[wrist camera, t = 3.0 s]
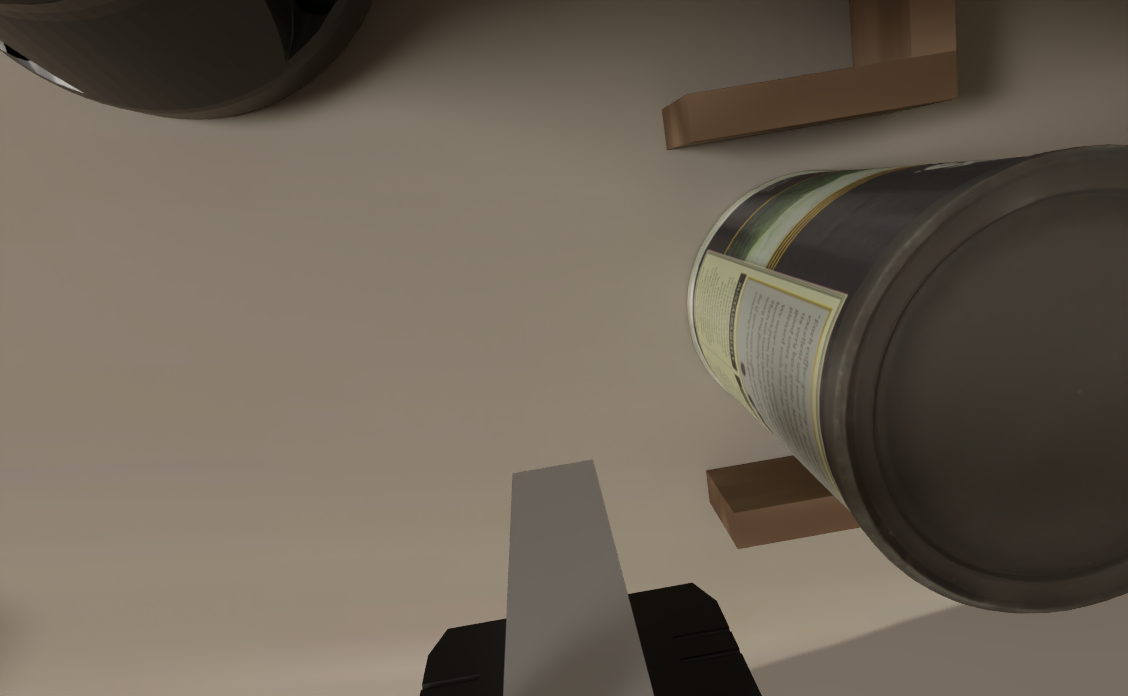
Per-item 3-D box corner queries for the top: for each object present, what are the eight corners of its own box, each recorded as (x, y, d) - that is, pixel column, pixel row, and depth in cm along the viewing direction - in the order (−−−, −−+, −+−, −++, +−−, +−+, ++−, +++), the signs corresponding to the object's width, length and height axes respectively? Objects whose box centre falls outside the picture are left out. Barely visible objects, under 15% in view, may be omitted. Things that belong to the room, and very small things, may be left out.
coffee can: (755, 124, 26) (1006, 49, 13) (975, 235, 28) (1413, 275, 14) (640, 361, 28) (750, 520, 15) (852, 453, 30) (1134, 677, 16)
